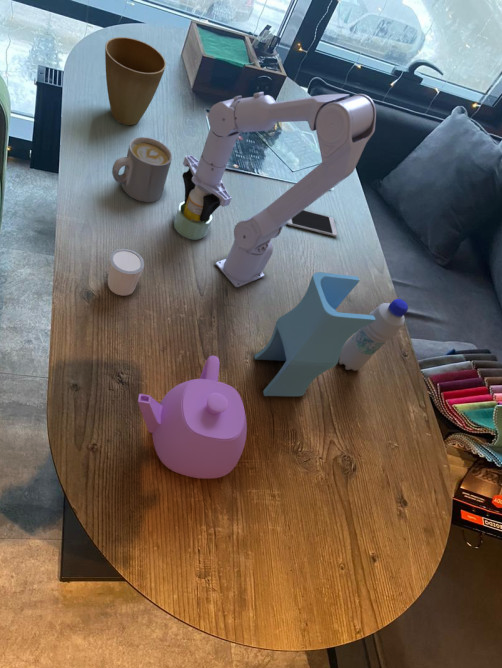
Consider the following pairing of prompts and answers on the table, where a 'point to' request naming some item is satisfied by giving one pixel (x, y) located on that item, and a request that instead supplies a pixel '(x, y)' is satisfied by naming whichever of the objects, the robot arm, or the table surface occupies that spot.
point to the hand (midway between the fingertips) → (196, 211)
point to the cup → (190, 225)
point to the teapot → (198, 425)
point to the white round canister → (124, 271)
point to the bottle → (373, 334)
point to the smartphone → (314, 222)
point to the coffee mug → (144, 169)
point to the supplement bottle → (195, 203)
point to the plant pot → (131, 77)
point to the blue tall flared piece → (312, 334)
